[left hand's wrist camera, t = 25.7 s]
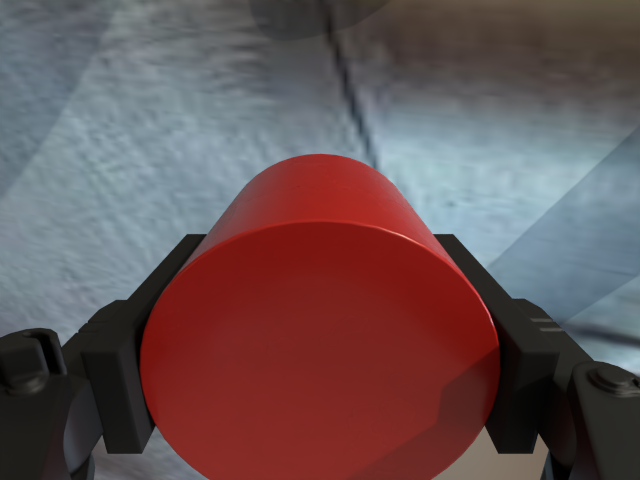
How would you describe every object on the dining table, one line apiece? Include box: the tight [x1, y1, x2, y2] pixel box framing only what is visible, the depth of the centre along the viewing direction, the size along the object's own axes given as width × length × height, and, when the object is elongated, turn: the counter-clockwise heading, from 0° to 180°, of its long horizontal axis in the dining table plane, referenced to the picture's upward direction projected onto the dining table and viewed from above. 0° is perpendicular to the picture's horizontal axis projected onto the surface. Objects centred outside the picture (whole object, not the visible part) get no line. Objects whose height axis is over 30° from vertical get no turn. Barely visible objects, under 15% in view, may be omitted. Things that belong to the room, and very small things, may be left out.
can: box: [139, 154, 501, 480], centre depth 12 cm, size 8×8×8 cm
